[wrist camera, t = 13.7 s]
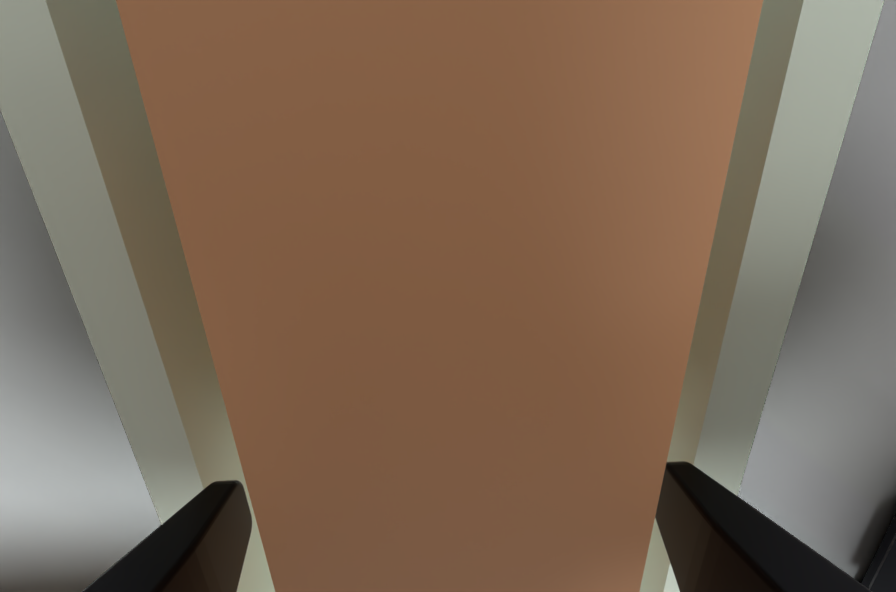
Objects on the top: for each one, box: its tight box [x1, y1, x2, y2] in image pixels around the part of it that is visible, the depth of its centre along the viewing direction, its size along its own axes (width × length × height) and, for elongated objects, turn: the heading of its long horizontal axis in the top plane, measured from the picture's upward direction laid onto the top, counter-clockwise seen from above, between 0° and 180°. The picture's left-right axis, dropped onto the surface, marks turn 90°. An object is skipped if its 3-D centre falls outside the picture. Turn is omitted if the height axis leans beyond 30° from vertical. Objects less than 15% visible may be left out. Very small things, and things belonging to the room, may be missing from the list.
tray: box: [0, 0, 884, 592], centre depth 10 cm, size 11×22×2 cm, turn 1°
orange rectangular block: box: [116, 0, 763, 592], centre depth 8 cm, size 4×14×5 cm, turn 1°
